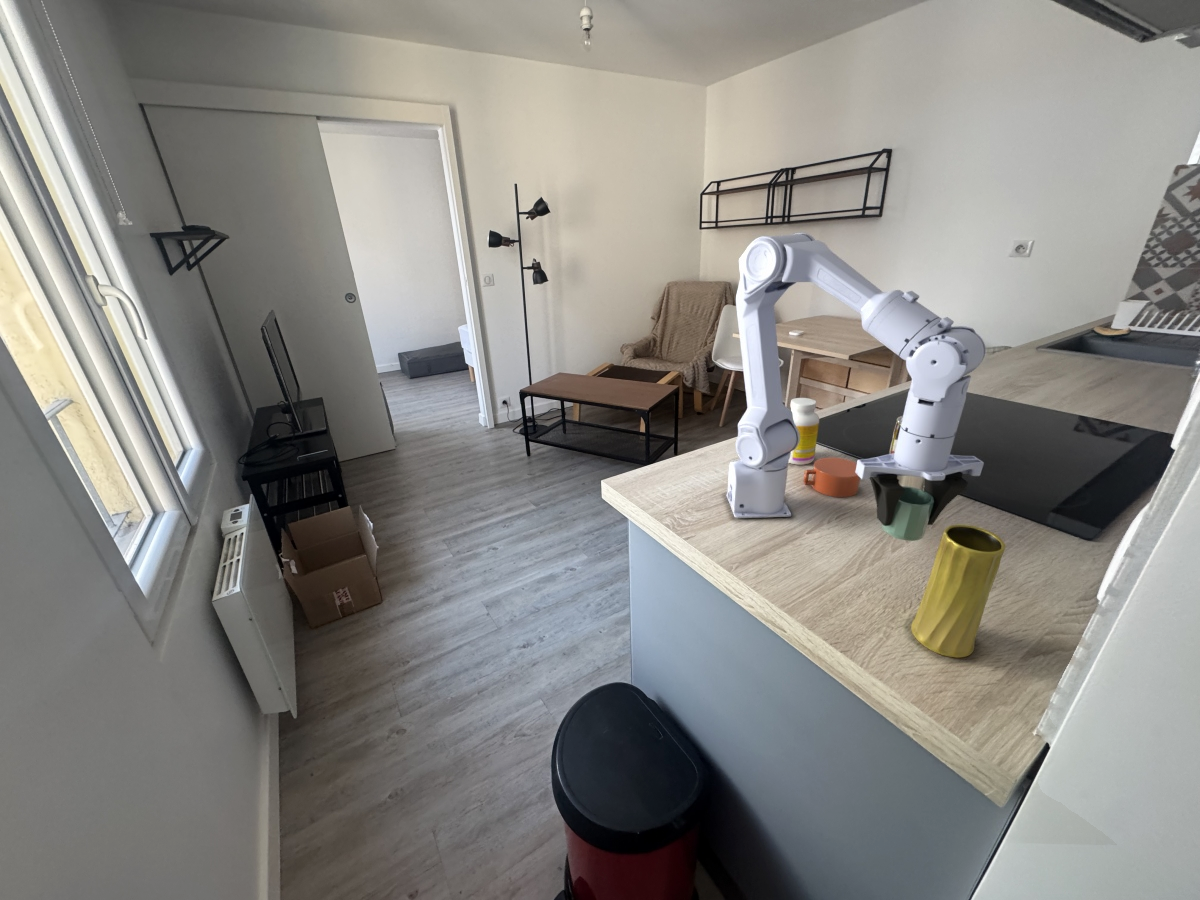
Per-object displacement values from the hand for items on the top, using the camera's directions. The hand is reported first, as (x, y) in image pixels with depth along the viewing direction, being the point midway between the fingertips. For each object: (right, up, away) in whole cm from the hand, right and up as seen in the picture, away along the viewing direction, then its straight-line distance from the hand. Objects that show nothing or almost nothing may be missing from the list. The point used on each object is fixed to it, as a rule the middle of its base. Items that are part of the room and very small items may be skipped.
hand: (904, 521), depth 64 cm
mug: (+3, +3, +24) cm, 24 cm away
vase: (-1, -13, -8) cm, 15 cm away
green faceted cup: (0, -1, +1) cm, 1 cm away
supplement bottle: (0, +8, +35) cm, 36 cm away
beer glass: (+11, +1, +18) cm, 21 cm away
